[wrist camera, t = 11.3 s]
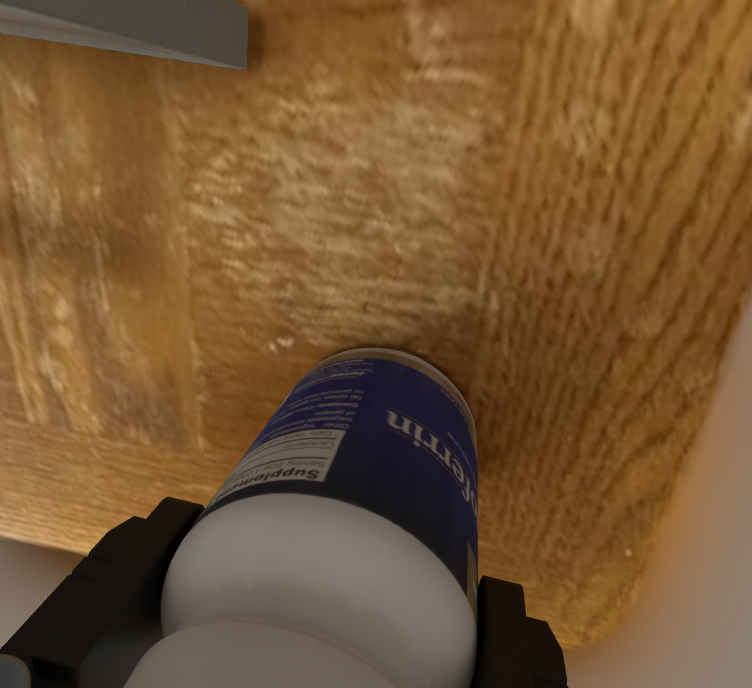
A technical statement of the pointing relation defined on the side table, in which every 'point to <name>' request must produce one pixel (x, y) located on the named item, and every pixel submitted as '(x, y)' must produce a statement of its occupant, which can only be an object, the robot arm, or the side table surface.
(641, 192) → the side table surface
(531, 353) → the side table surface
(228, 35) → the drawer
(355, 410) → the pill bottle
